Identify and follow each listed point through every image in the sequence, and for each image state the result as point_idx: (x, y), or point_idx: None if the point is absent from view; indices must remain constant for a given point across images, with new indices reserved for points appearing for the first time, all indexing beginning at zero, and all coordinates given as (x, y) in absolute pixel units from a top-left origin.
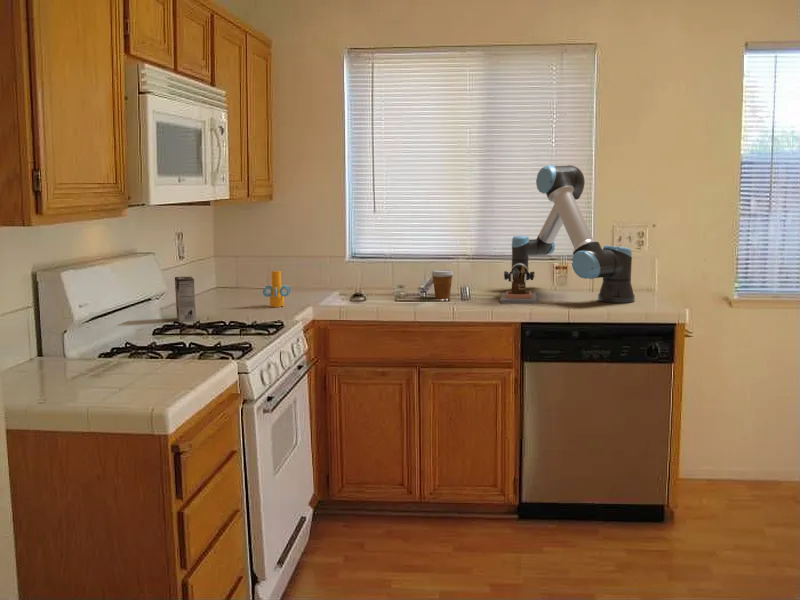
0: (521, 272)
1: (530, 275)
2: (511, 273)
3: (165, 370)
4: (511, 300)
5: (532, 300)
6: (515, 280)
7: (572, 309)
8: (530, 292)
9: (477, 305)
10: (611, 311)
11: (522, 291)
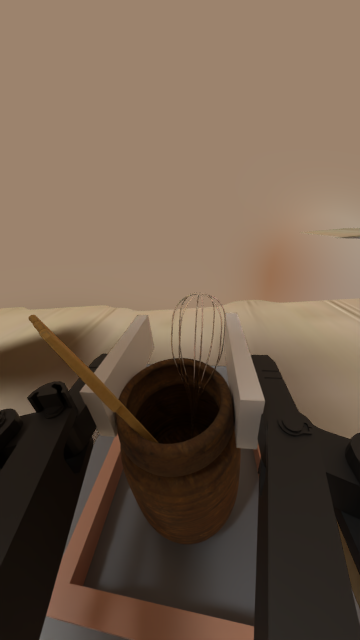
0: (120, 403)
1: (30, 420)
2: (309, 557)
3: (351, 233)
4: (221, 367)
5: (147, 365)
6: (206, 375)
7: (94, 321)
8: (98, 485)
9: (321, 343)
10: (45, 314)
11: (164, 422)
